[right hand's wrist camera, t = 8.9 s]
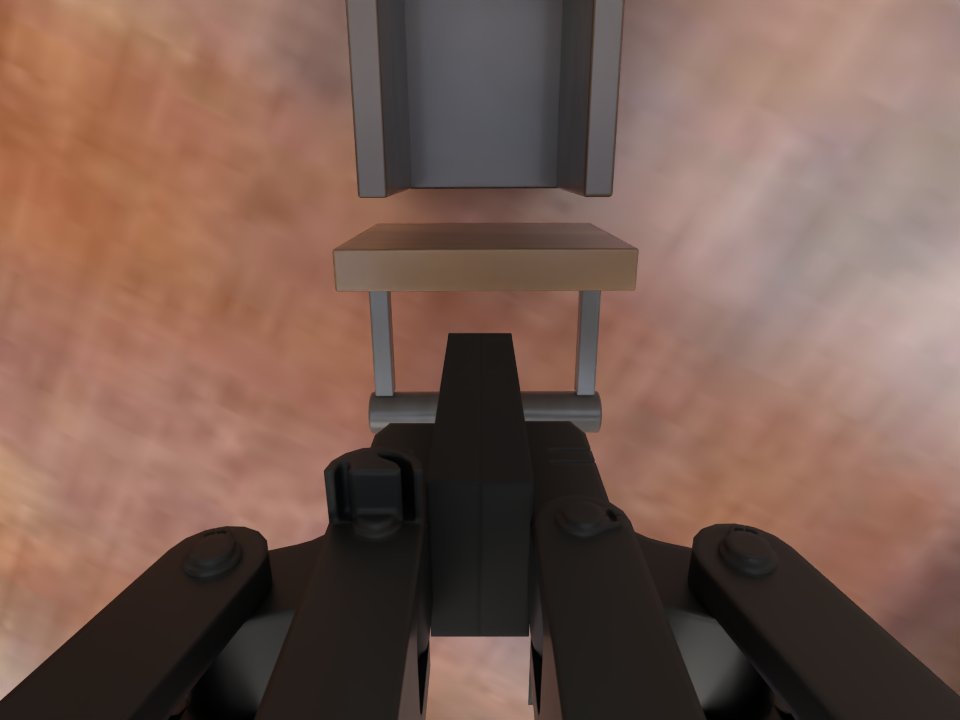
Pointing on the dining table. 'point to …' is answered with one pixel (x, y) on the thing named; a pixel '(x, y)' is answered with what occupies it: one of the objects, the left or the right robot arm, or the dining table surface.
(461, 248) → the drawer
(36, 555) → the dining table surface
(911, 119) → the dining table surface
